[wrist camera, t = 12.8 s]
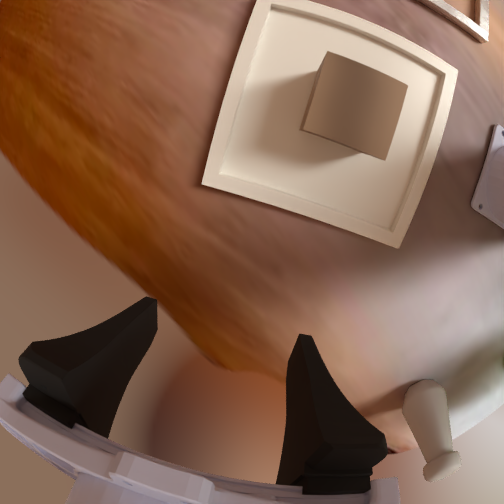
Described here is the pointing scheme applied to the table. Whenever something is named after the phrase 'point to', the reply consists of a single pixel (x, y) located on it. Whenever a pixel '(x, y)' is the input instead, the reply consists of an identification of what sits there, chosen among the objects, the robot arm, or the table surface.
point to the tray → (316, 148)
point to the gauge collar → (465, 17)
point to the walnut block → (354, 106)
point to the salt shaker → (431, 428)
